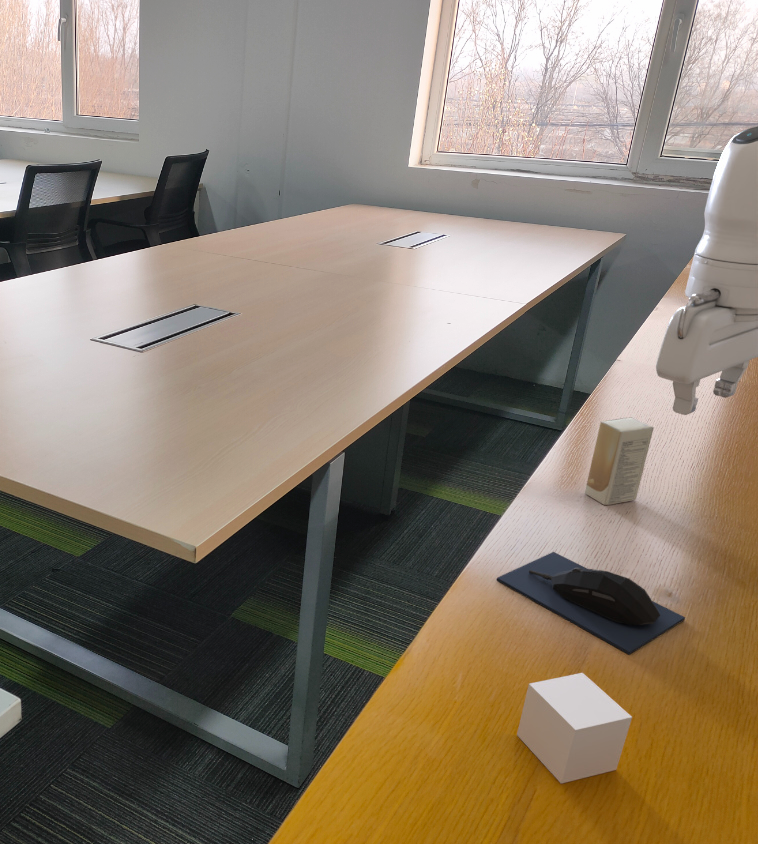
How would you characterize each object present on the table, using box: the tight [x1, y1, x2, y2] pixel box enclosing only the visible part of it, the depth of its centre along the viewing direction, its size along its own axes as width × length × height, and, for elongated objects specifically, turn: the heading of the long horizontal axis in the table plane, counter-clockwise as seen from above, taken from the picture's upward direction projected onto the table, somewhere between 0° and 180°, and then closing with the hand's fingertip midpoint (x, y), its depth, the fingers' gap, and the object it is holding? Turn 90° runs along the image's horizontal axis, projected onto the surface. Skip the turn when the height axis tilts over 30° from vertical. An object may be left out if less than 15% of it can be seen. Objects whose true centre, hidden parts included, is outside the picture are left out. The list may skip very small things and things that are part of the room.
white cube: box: [516, 672, 633, 784], centre depth 72 cm, size 6×6×6 cm
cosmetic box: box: [584, 416, 655, 506], centre depth 120 cm, size 6×4×12 cm
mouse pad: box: [496, 551, 686, 655], centre depth 96 cm, size 17×12×1 cm
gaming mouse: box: [529, 567, 660, 625], centre depth 95 cm, size 6×15×4 cm, turn 44°
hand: (703, 403), depth 91 cm, fingers open, 8 cm apart
